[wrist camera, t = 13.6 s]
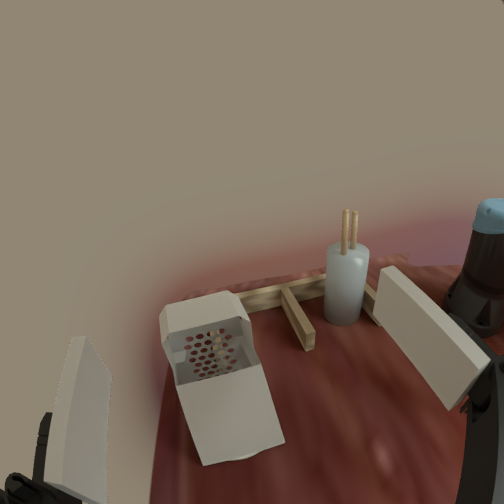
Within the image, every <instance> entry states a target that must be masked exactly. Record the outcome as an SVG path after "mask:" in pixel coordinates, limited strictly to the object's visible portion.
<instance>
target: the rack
mask: <svg viewBox="0 0 504 504" xmlns="http://www.w3.org/2000/svg"><path fill="white" fill-rule="evenodd" d="M325 278H326V274H322V275H318V276H313V277H309V278H305V279H301V280H296V281H292V282H287V283H283V284H278V285H274V286H269V287H265V288H260V289H255V290H251V291H246V292H241V293H236V294H234V295H236V296H238V297H239V299H240V301H241V303H242V305H243V307H244V309H245V311H246V313H247V314H248V313H252V312H257V311H261V310H265V309H270V308H274V307H278V306H282V308H283V310H284V312H285V314H286V316H287V317H288V319H289V321H290V323H291V325H292V327H293V329H294V331H295V333H296V334H297V336H298V338H299V340H300V342H301V344H302V346H303V348H304V350H305V351H309V350H312V349H314V345H315V333H316V331H315V330H314V328H313V327H312V325H311V323H310V322H309V320H308V318H307V317H306V315H305V313H304V312H303V310H302V309H301V307H300V305H299V304H298V302H299V301H303V300H307V299H311V298H315V297H319V296H322V295H324V293H325ZM376 294H377V293H376V292H375V291H374V290H373V289H372V288H371V287H370V286H369V285H368V284H367V283H366V282H365V289H364V295H363V301H362V308H363V309H364V310H365V311H366V312H367V313H368V315H369V316H370V317H371V318H372V319H373V321H374V322H375V323H376V324H377V325H378V326H379V327H380V326H382V325H381V324H380V323H379V321H378V320H377V319H376V318H375V317H374V315H373V310H374V305H375V299H376ZM217 333H218V334H220V332H219V329H218V330H217ZM214 334H215V333H214V332H213V331H210V336H213V335H214ZM215 342H221V337H217V338H216V339H215ZM220 347H221V348H223V345H222V344H221V345H220ZM217 348H218V346H216V345H213V350H216V349H217ZM223 354H224V351H219V352H218V355H223ZM214 356H215V354H214ZM223 359H224V360H226V358H225V356H224V357H223ZM215 360H216V362H219V361H220V360H221V359H220V358H216V359H215ZM225 365H227V362H222V363H221V366H225ZM217 367H218V365H217ZM223 370H224V369H222V368H220V369H218V371H219V372H222V371H223ZM226 370H228V367H226Z"/></svg>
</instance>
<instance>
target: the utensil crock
mask: <svg viewBox="0 0 504 504" xmlns="http://www.w3.org/2000/svg"><path fill="white" fill-rule="evenodd" d="M357 226H358V212H357V211H353V212H352V224H351V238H350V241H348V228H349V210H348V209H344V210H343V217H342V238H341V241H340V242H336V243H333V244H331V245H330V246H329V247H328V248H327V261H326V278H325V293H324V306H323V315H324V318H325V319H326V320H327V321H328V322H330V323H332V324H334V325H338V326H347V325H351V324H353V323H355V322H356V321H357V320H358V319H359V317H360V312H361V306H362V301H363V295H364V289H365V282H366V276H367V269H368V261H369V250H368V249H367V248H366V247H365V246H364V245H361V244H359V243H356V239H357Z"/></svg>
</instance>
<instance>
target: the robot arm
mask: <svg viewBox="0 0 504 504" xmlns="http://www.w3.org/2000/svg"><path fill="white" fill-rule="evenodd" d="M502 2H503V3H504V0H502ZM472 228H473V230H472V235H471V239H470V243H469V246H468V251H467V254H466V257H465V261H464V265H463V268H462V271H461V272H460V274H459V275H458V276H457V278H456V279H455V281H454V282H453V283H452V285H451V286H450V288H449V289H448V291H447V293H446V296H445V299H444V302H443V309H444V311H443V310H442V309H441V308H440V307H439V306H438V305H437V304H436V303H435V302H433V301H432V300H431V299H430V298H429V297H428V296H427V295H426V294H425V293H424V292H423V291H422V290H421V289H419V288H418V287H417V286H416V285H415V284H414V283H413V282H412V281H411V280H409V279H408V278H407V277H406V276H405V275H404V274H403V273H402V272H400V271H399V270H398V269H397V268H396V267H395V266H394V265H393V266H389V267H386V268H383V269H381V271H380V277H379V283H378V289H377V294H376V299H375V305H374V310H373V315H374V317H375V318H376V319H377V320H378V321H379V323H380V324H381V325H382V326H383V327H384V329H385V330H386V331H387V332H388V334H389V335H390V336H391V337H392V338H393V340H394V341H395V342H396V343H397V345H398V346H399V347H400V348H401V350H402V351H403V352H404V353H405V355H406V356H407V357H408V358H409V360H410V361H411V362H412V363H413V365H414V366H415V367H416V369H417V370H418V371H419V372H420V374H421V375H422V376H423V378H424V379H425V380H426V382H427V383H428V384H429V385H430V387H431V388H432V389H433V391H434V392H435V393H436V395H437V396H438V397H439V399H440V400H441V401H442V403H443V404H444V406H445V407H446V408H447V410H448V411H450V410H451V409H452V408H454V407H455V406H456V405H458V404H459V403H460V402H461V401H462V400H463V399H464V397H465V396H466V395H467V394H468V396H469V398H468V400H467V401H466V402H465V403H464V405H463V406H462V407H461V410H460V413H462V412H463V411H464V410H465V409H466V408H467V410H466V411H465V413H467V427H466V440H465V450H464V459H463V466H462V473H461V479H460V484H459V489H458V494H457V499H456V503H455V504H504V355H501V356H498V355H497V354H496V353H495V352H494V351H493V350H492V349H491V348H490V347H489V346H488V345H487V344H486V343H485V342H484V341H483V340H482V339H481V338H480V337H490V336H493V335H495V334H496V333H497V332H498V331H499V330H500V329H501V327H502V325H503V323H504V199H500V198H491V199H486V200H484V201H482V202H481V203H480V204H479V205H478V208H477V212H476V216H475V220H474V221H473V224H472ZM111 385H112V375H111V373H110V372H109V370H108V369H107V367H106V366H105V364H104V363H103V361H102V360H101V358H100V356H99V355H98V353H97V352H96V350H95V349H94V347H93V345H92V344H91V342H90V341H89V339H88V338H87V336H78V337H72V339H71V342H70V346H69V349H68V352H67V356H66V360H65V363H64V367H63V370H62V374H61V378H60V383H59V386H58V391H57V395H56V400H55V404H54V409H53V413H49V412H46V414H45V416H44V417H43V419H42V421H41V423H40V428H39V433H38V435H39V437H38V439H37V446H36V452H35V460H34V468H33V477H32V480H30V479H28V478H27V477H25V476H23V475H22V474H20V473H15V472H14V473H12V474H10V475H9V476H8V477H7V479H6V482H5V491H3V490H2V489H0V504H82V501H84V502H86V503H88V504H108V498H107V436H108V418H109V405H110V394H111Z"/></svg>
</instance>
